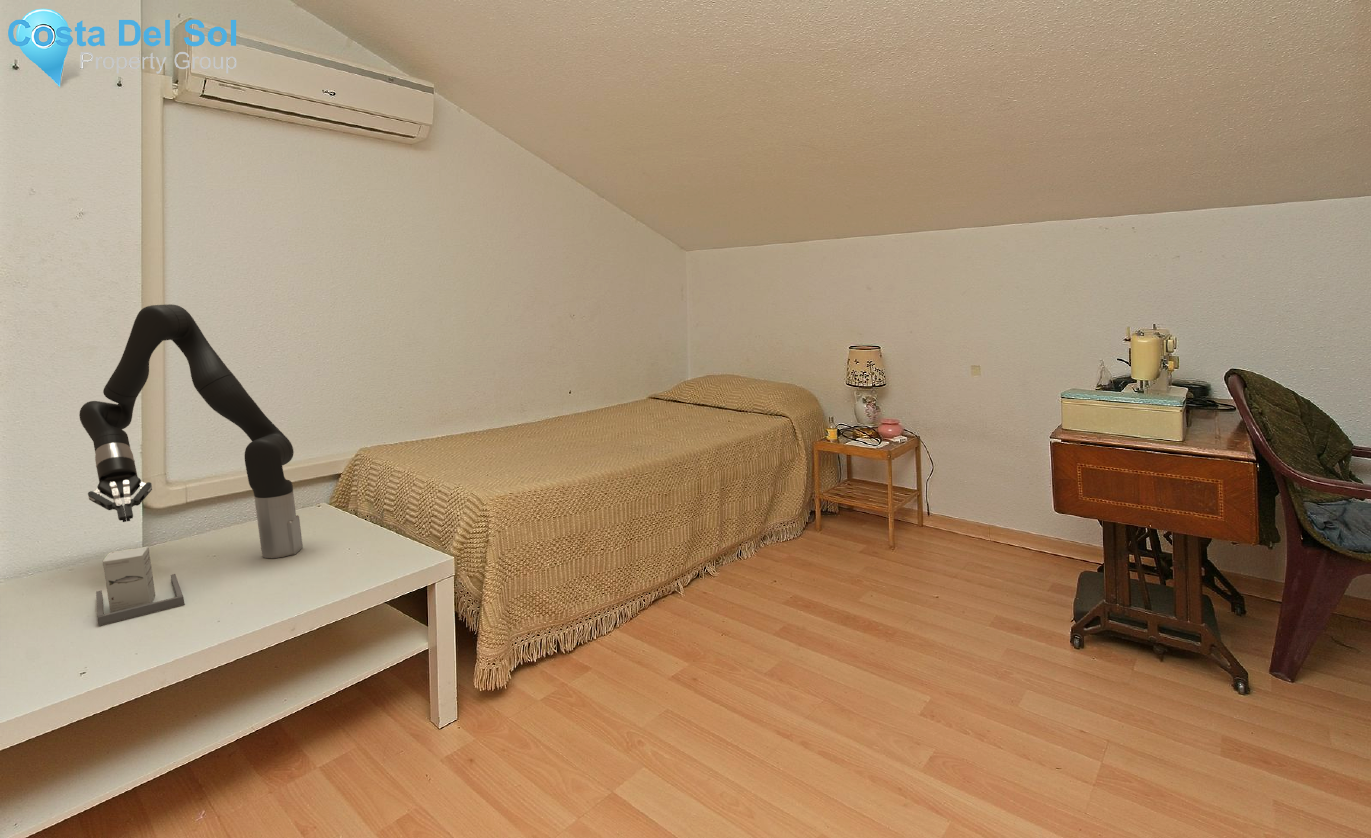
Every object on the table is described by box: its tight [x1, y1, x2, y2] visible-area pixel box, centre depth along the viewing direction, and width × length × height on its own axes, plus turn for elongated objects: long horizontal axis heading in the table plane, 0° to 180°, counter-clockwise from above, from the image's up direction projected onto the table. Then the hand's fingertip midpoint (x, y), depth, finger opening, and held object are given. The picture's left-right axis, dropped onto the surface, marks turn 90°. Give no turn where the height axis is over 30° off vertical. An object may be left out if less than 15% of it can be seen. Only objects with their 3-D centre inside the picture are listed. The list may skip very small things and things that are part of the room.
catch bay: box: [95, 573, 185, 627], centre depth 154 cm, size 18×15×2 cm
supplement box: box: [102, 546, 156, 613], centre depth 152 cm, size 7×7×13 cm
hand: (126, 519), depth 163 cm, fingers closed
